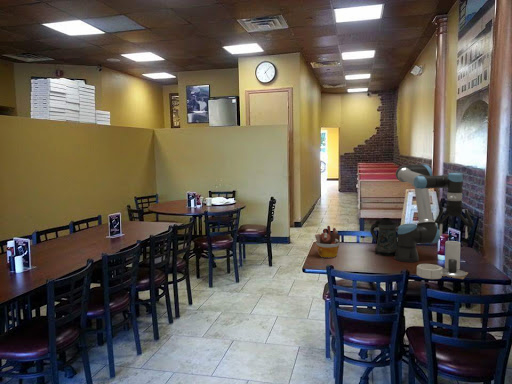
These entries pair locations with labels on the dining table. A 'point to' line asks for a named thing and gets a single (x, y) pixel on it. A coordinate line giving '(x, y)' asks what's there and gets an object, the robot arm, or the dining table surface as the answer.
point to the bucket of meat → (328, 243)
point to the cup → (452, 252)
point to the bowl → (429, 271)
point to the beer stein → (385, 237)
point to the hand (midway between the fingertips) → (453, 236)
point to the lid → (453, 269)
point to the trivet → (459, 277)
